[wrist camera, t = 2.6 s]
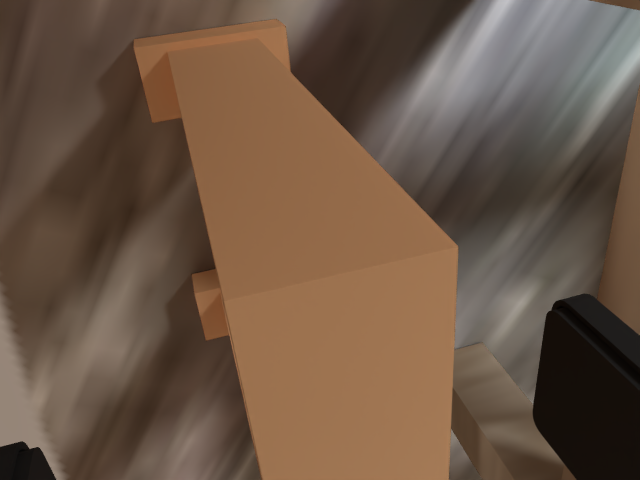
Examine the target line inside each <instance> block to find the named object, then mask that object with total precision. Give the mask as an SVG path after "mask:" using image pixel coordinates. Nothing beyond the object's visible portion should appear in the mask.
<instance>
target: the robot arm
mask: <svg viewBox="0 0 640 480" xmlns="http://www.w3.org/2000/svg"><path fill="white" fill-rule="evenodd" d="M533 420H534V423H535V425H536V427H537V429H538V431H539V432H540V434H541V435H542V436H543V437H544V439H545V440H546V441H547V443H548V444H549V445H550V446H551V448H552V449H553V450H554V452H555V453H556V454H557V455H558V457H559V458H560V459H561V460H562V462H563V463H564V464H565V466H566V467H567V468H568V469H569V471H570V472H571V473H572V475H573V476H574V477H575V478H576V480H640V335H639V334H637V333H636V332H635V331H634V330H633V329H632V328H630V327H629V326H628V325H627V324H626V323H624V322H623V321H622V320H621V319H620V318H618V317H617V316H616V315H615V314H614V313H612V312H611V311H610V310H609V309H608V308H606V307H605V306H604V305H603V304H602V303H600V302H599V301H598V300H597V299H596V298H594V297H593V296H591V295H590V294H581V295H577V296H574V297H570V298H566V299H562V300H559V301H556V302H555V303H554V304H553V307H552V311H549V312H548V313H547V315H546V320H545V327H544V334H543V341H542V348H541V355H540V362H539V369H538V376H537V383H536V390H535V397H534V405H533ZM0 480H56V478H55V476H54V474H53V472H52V470H51V468H50V466H49V464H48V462H47V460H46V458H45V456H44V454H43V452H42V451H41V449H40V448H39V447H36V448H32V449H29V448H28V446H27V445H26V443H24V442H18V443H14V444H10V445H6V446H2V447H0Z"/></svg>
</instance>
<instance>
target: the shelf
mask: <svg viewBox="0 0 640 480" xmlns="http://www.w3.org/2000/svg"><path fill="white" fill-rule="evenodd" d="M590 1H595V2H600V3H605V4H610V5H616V6H621V7H626V8H631V9H636V10H640V0H590ZM597 300H598V301H599V302H600V303H602V304H603V305H604V306H605V307H606V308H608V309H609V310H610V311H611V312H612V313H614V314H615V315H616V316H617V317H618V318H620V319H621V320H622V321H623V322H624V323H626V324H627V325H628V326H629V327H630V328H632V329H633V330H634V331H635V332H636V333H637V334H639V335H640V85H639V90H638V95H637V100H636V106H635V111H634V116H633V121H632V126H631V131H630V136H629V141H628V146H627V151H626V156H625V161H624V166H623V171H622V176H621V181H620V186H619V191H618V196H617V201H616V207H615V212H614V217H613V222H612V227H611V232H610V237H609V242H608V247H607V252H606V257H605V262H604V267H603V272H602V277H601V282H600V287H599V292H598V297H597ZM451 429H452V430H453V432H454V434H455V435H456V437H457V439H458V440H459V442H460V444H461V445H462V447H463V448H464V450H465V452H466V453H467V455H468V457H469V458H470V460H471V462H472V463H473V465H474V466H475V468H476V470H477V471H478V473H479V475H480V476H481V478H482V480H576V478H575V477H574V476H573V475H572V473H571V472H570V471H569V469H568V468H567V467H566V466H565V464H564V463H563V462H562V460H561V459H560V458H559V457H558V455H557V454H556V453H555V452H554V450H553V449H552V448H551V446H550V445H549V444H548V443H547V441H546V440H545V439H544V437H543V436H542V435H541V434H540V432H539V431H538V429H537V427H536V425H535V423H534V420H533V404H532V403H531V402H530V401H529V400H528V398H527V397H526V396H525V395H524V393H523V392H522V391H521V390H520V388H519V387H518V386H517V385H516V383H515V382H514V381H513V380H512V378H511V377H510V376H509V375H508V373H507V372H506V371H505V370H504V368H503V367H502V366H501V365H500V364H499V362H498V361H497V360H496V359H495V357H494V356H493V355H492V354H491V352H490V351H489V350H488V349H487V347H486V346H485V345H484V344H483V342H482V343H478V344H474V345H471V346H467V347H463V348H460V349H456V350H454V365H453V389H452V413H451Z"/></svg>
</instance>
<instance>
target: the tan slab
mask: <svg viewBox="0 0 640 480" xmlns="http://www.w3.org/2000/svg"><path fill="white" fill-rule="evenodd" d="M134 51H135V55H136V59H137V63H138V67H139V71H140V75H141V79H142V83H143V87H144V91H145V95H146V99H147V104H148V108H149V112H150V116H151V120H152V123H155V122H160V121H166V120H172V119H178V118H182V121H183V126H184V130H185V135H186V139H187V144H188V148H189V152H190V157H191V161H192V166H193V170H194V175H195V179H196V184H197V188H198V192H199V197H200V201H201V206H202V210H203V215H204V219H205V223H206V228H207V232H208V237H209V241H210V246H211V250H212V254H213V259H214V263H215V268H216V269H213V270H208V271H204V272H199V273H195V274H192V281H193V287H194V294H195V298H196V302H197V306H198V310H199V314H200V318H201V322H202V326H203V330H204V334H205V338H206V341H207V340H211V339H215V338H219V337H223V336H227V335H229V336H230V341H231V345H232V350H233V354H234V359H235V363H236V368H237V372H238V377H239V381H240V386H241V390H242V395H243V399H244V404H245V408H246V413H247V417H248V422H249V426H250V431H251V435H252V440H253V444H254V449H255V453H256V458H257V462H258V467H259V471H260V476H261V480H449V461H450V437H451V413H452V389H453V365H454V341H455V317H456V293H457V269H458V246H457V245H456V244H455V243H454V241H453V240H452V239H451V238H450V237H449V236H448V235H447V234H446V233H445V232H444V231H443V230H442V229H441V228H440V227H439V226H438V225H437V224H436V223H435V222H434V221H433V220H432V219H431V218H430V217H429V216H428V214H427V213H426V212H425V211H424V210H423V209H422V208H421V207H420V206H419V205H418V204H417V203H416V202H415V201H414V200H413V199H412V198H411V197H410V196H409V195H408V194H407V193H406V192H405V191H404V190H403V189H402V187H401V186H400V185H399V184H398V183H397V182H396V181H395V180H394V179H393V178H392V177H391V176H390V175H389V174H388V173H387V172H386V171H385V170H384V169H383V168H382V167H381V166H380V165H379V164H378V163H377V162H376V160H375V159H374V158H373V157H372V156H371V155H370V154H369V153H368V152H367V151H366V150H365V149H364V148H363V147H362V146H361V145H360V144H359V143H358V142H357V141H356V140H355V139H354V138H353V137H352V136H351V135H350V133H349V132H348V131H347V130H346V129H345V128H344V127H343V126H342V125H341V124H340V123H339V122H338V121H337V120H336V119H335V118H334V117H333V116H332V115H331V114H330V113H329V112H328V111H327V110H326V109H325V108H324V106H323V105H322V104H321V103H320V102H319V101H318V100H317V99H316V98H315V97H314V96H313V95H312V94H311V93H310V92H309V91H308V90H307V89H306V88H305V87H304V86H303V85H302V84H301V83H300V82H299V81H298V79H297V78H296V77H295V76H294V75H293V74H292V73H291V70H290V61H289V52H288V43H287V34H286V26H285V25H284V24H282V23H281V22H280V21H279V20H277V19H272V20H265V21H258V22H251V23H244V24H237V25H230V26H223V27H216V28H209V29H202V30H195V31H188V32H181V33H174V34H167V35H160V36H154V37H147V38H140V39H134Z"/></svg>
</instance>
